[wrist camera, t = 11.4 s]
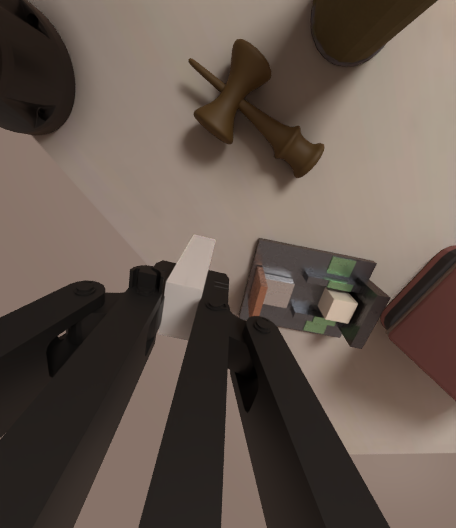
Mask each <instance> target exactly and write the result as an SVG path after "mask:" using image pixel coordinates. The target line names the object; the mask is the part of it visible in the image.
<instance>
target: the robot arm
mask: <svg viewBox="0 0 456 528" xmlns="http://www.w3.org/2000/svg"><path fill="white" fill-rule="evenodd" d="M74 97H75V78H74V71H73V67H72V63H71V60H70V57H69V54H68V51H67V49H66V47H65V45H64V43H63V41H62V39H61V37H60V35H59V34H58V32H57V31H56V29H55V28H54V26H53V25H52V24H51V23H50V21H49V20H48V19H47V18H46V17H45V16H44V15H43V14H42V13H41V12H40V11H39V10H38V9H37V8H36V7H34V6H33V5H32V4H31V3H29V2H28V1H27V0H0V127H1V128H4V129H7V130H10V131H13V132H17V133H24V134H30V135H43V134H47V133H50V132H52V131H54V130H56V129H58V128H59V127H60V126H61V125H62V124H63V123H64V122H65V121H66V119H67V118H68V116H69V114H70V112H71V109H72V106H73V103H74ZM215 241H216V239H212V238H207V237H203V236H199V235H195V234H194V235H193V236H192V238H191V240H190V241H189V243H188V245H187V247H186V248H185V250H184V252H183V254H182V255H181V257H180V259H179V260H178V262H177V263H172V262H168V261H160V262H158V263H156V264H155V266H154V267H153V266H147V265H145V266H136V267H133V268H132V269H130V279H129V288H128V289H127V290H126V292H124V293H105V287H104V285H102V284H100V283H99V282H95V281H79V282H75V283H72V284H69V285H68V286H66V287H63V288H61V289H59V290H57V291H55V292H53V293H51V294H48V295H46V296H44V297H42V298H40V299H38V300H36V301H34V302H32V303H30V304H28V305H25V306H23V307H21V308H19V309H17V310H15V311H13V312H11V313H9V314H7V315H5V316H3V317H1V318H0V437H2V436H3V435H4V434H5V433H6V434H5V435H4V436H3V437H2V438H1V439H0V528H73V527H74V525H75V523H76V520H77V518H78V516H79V514H80V511H81V509H82V507H83V505H84V502H85V500H86V498H87V495H88V493H89V491H90V489H91V486H92V484H93V482H94V480H95V477H96V475H97V473H98V471H99V468H100V466H101V464H102V462H103V459H104V457H105V455H106V452H107V450H108V448H109V446H110V443H111V441H112V439H113V437H114V434H115V432H116V430H117V428H118V425H119V423H120V421H121V418H122V416H123V414H124V411H125V409H126V407H127V405H128V403H129V400H130V398H131V396H132V393H133V391H134V389H135V387H136V384H137V382H138V380H139V378H140V376H141V373H142V371H143V369H144V366H145V364H146V362H147V360H148V357H149V355H150V353H151V351H152V348H153V346H154V344H155V338H156V333H157V331H158V329H159V334H160V335H165V336H169V337H174V338H179V339H184V340H189V341H188V345H187V348H186V352H185V356H184V359H183V363H182V367H181V371H180V374H179V378H178V382H177V386H176V390H175V393H174V397H173V400H172V404H171V408H170V412H169V415H168V419H167V423H166V427H165V430H164V434H163V438H162V442H161V446H160V449H159V453H158V457H157V460H156V464H155V468H154V472H153V475H152V479H151V483H150V487H149V490H148V494H147V498H146V501H145V505H144V509H143V513H142V516H141V520H140V524H139V528H221V513H222V489H223V488H222V487H223V465H224V441H225V440H224V439H225V417H226V392H227V369H230V375H231V379H232V383H233V387H234V392H235V396H236V400H237V404H238V408H239V413H240V417H241V421H242V425H243V429H244V433H245V438H246V442H247V446H248V450H249V454H250V458H251V463H252V466H253V471H254V475H255V479H256V484H257V488H258V492H259V496H260V500H261V504H262V509H263V513H264V517H265V521H266V525H267V528H390V527H389V525H388V523H387V521H386V520H385V518H384V516H383V515H382V512H381V511H380V509H379V507H378V505H377V504H376V502H375V500H374V498H373V496H372V495H371V493H370V491H369V490H368V488H367V486H366V484H365V482H364V481H363V479H362V477H361V475H360V473H359V472H358V470H357V468H356V466H355V464H354V463H353V461H352V459H351V457H350V456H349V454H348V452H347V450H346V448H345V447H344V445H343V443H342V441H341V440H340V438H339V436H338V434H337V432H336V431H335V429H334V427H333V425H332V424H331V422H330V420H329V418H328V416H327V415H326V413H325V411H324V409H323V408H322V406H321V404H320V402H319V400H318V399H317V397H316V395H315V393H314V392H313V390H312V388H311V386H310V384H309V383H308V381H307V379H306V377H305V375H304V374H303V372H302V370H301V368H300V367H299V365H298V363H297V361H296V359H295V358H294V356H293V354H292V352H291V351H290V349H289V347H288V345H287V343H286V342H285V340H284V338H283V336H282V335H281V333H280V331H279V329H278V327H277V326H276V325H275V324H274V323H273V322H272V321H270V320H269V319H267V318H264V317H261V316H251V317H249V318H248V319H247V321H245V320H242V319H240V318H238V317H236V316H235V315H234V314H232V312H231V311H230V307H229V305H228V292H229V278H228V277H227V275H226V274H224V273H219V272H215V271H210V270H209V267H210V263H211V259H212V254H213V250H214V245H215ZM65 330H66V333H65V334H64V335H62V336H60V337H58V335H59V334H61V333H62V332H64V331H65Z"/></svg>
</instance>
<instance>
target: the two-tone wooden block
mask: <svg viewBox="0 0 456 528" xmlns="http://www.w3.org/2000/svg"><path fill="white" fill-rule="evenodd" d="M294 285H295V284H294V282H293V279H290V278H285V277H280V276H275V275H270V274H265V273H264V270H263V267H259V266H257V269H256V272H255V276H254V280H253V284H252V287H251V291H250V295H249V298H248V309H249V317H251V316H259V315H260V312H261V308H262V305H263V304H267V305H272V306H277V307H282V308H287V305H288V302H289V299H290V297H291V294H292V291H293V288H294Z"/></svg>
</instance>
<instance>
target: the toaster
mask: <svg viewBox="0 0 456 528" xmlns="http://www.w3.org/2000/svg"><path fill="white" fill-rule="evenodd" d="M381 322H382V325H383V326H384V327H385V328H386V329H387V331H386V334H387V335H388V336H389V339H390V340H391V341H392V342H393V343H394V344H396V345H397V346H398V347H399V348H400V349H401V350H402V351H403V352H404V353H405V354H406V355H407V356H408V357H409V358H410V359H411V360H413V361H414V362H415V363H416V364H417V365H418V366H419V367H420V368H421V369H422V370H423V371H424V372H425V373H426V374H427V375H429V376H430V377H431V378H432V379H433V380H434V381H435V382H436V383H437V384H438V385H439V386H440V387H441V388H442V389H443V390H445V391H446V392H447V393H448V394H449V395H450V396H451V397H452V398H453V399H454V400H455V401H456V246H450V247H448V248H445V249H443V250H442V251H440V252H439V253H438V254H437V255H436V256H435V257H434V258H433V259H432V260H431V261H430V262H429V263H428V264H427V265H426V266H425V267H424V268H423V269H422V270H421V271H420V272H419V273H418V274H417V275H416V277H415V278H414V279H413V280H412V281H411V282H410V283H409V284H408V285H407V286H406V287H405V288H404V289H403V290H402V291H401V292H400V293H399V294H398V295H397V296H396V298H395V299H394V300H393V301H392V302H391V303H390V304H389V305H388V306H387V307H386V308H385V309H384V311H383V312H382V314H381Z"/></svg>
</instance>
